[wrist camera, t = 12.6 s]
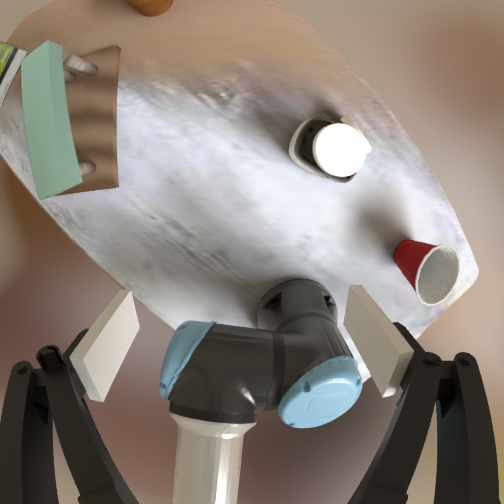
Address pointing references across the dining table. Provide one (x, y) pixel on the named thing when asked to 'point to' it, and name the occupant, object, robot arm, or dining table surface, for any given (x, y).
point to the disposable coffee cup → (151, 6)
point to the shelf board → (48, 121)
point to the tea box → (8, 66)
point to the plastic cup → (429, 269)
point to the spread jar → (329, 148)
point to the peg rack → (93, 117)
